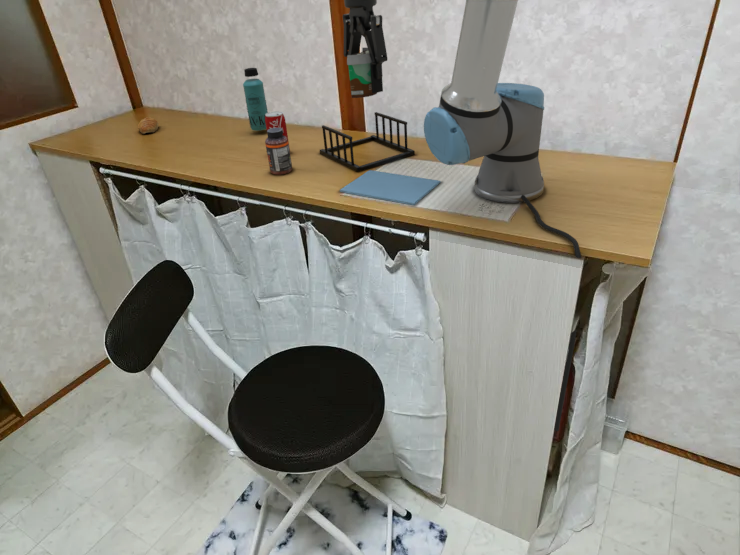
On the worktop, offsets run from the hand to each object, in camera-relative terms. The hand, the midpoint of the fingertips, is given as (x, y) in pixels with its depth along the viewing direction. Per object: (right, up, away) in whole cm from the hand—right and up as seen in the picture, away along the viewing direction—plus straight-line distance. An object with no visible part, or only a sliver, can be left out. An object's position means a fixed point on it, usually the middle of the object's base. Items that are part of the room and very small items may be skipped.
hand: (367, 89), depth 133 cm
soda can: (-25, -12, +21) cm, 35 cm away
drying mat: (+6, -26, -6) cm, 27 cm away
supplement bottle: (-23, -19, +9) cm, 31 cm away
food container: (+1, -1, 0) cm, 1 cm away
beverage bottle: (-35, 0, +41) cm, 54 cm away
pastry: (-77, +4, +52) cm, 93 cm away
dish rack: (0, -13, +15) cm, 20 cm away
